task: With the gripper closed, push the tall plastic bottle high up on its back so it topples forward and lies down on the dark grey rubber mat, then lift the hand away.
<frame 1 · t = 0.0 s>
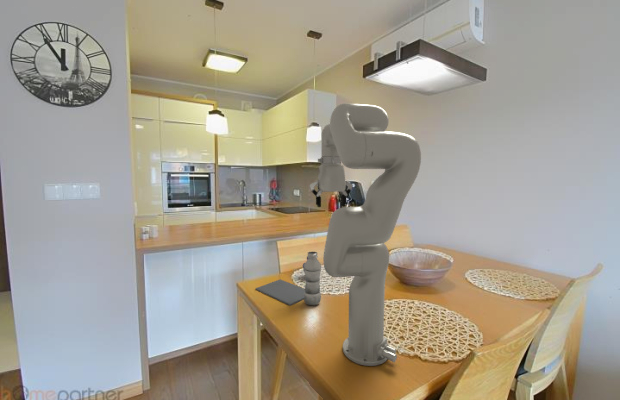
hand: (331, 206, 103), 37 cm above the table, tool pointing down, fingers open, 9 cm apart
plastic bottle: (312, 304, 103), on the table
potion bottle: (311, 278, 129), on the table
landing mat: (284, 291, 114), on the table
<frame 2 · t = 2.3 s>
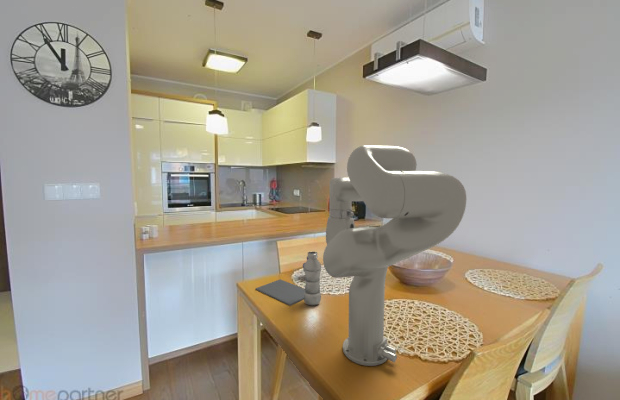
hand: (339, 266, 93), 18 cm above the table, tool pointing down, fingers closed
nothing on the table moved.
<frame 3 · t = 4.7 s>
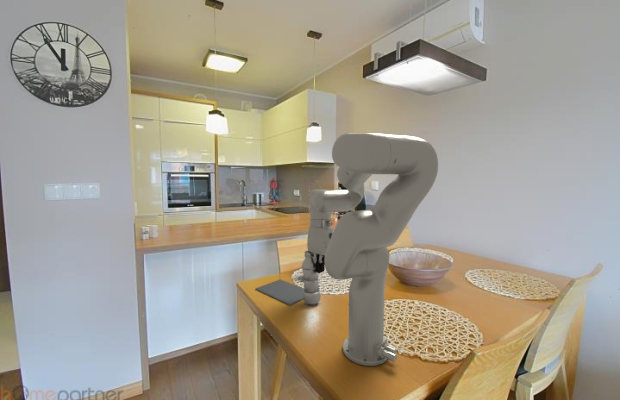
hand: (320, 271, 100), 13 cm above the table, tool pointing down, fingers closed
plastic bottle: (312, 303, 103), on the table, touching gripper
everything else where it was.
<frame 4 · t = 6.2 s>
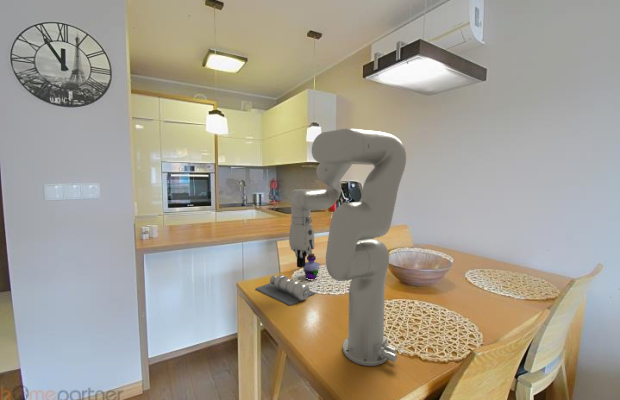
hand: (301, 266, 106), 13 cm above the table, tool pointing down, fingers closed
plastic bottle: (306, 293, 104), point 3 cm above the table, touching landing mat
everything else where it was.
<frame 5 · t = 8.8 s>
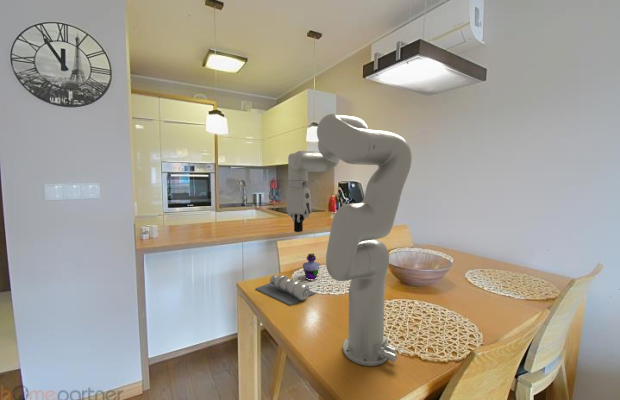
hand: (298, 231, 106), 27 cm above the table, tool pointing down, fingers closed
nothing on the table moved.
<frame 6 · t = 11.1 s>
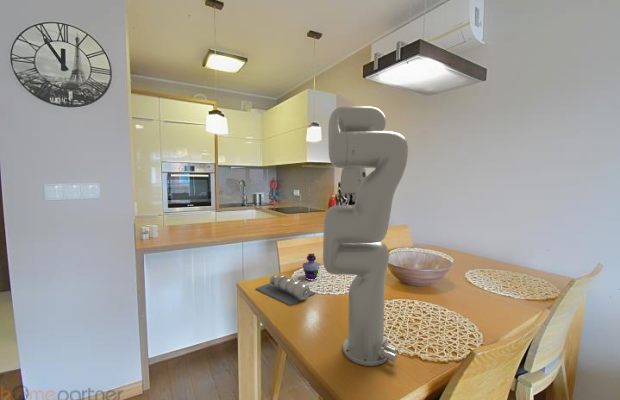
hand: (352, 211, 106), 35 cm above the table, tool pointing down, fingers closed
nothing on the table moved.
at the end: plastic bottle tilted 89°; plastic bottle touching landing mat; the gripper is holding nothing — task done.
